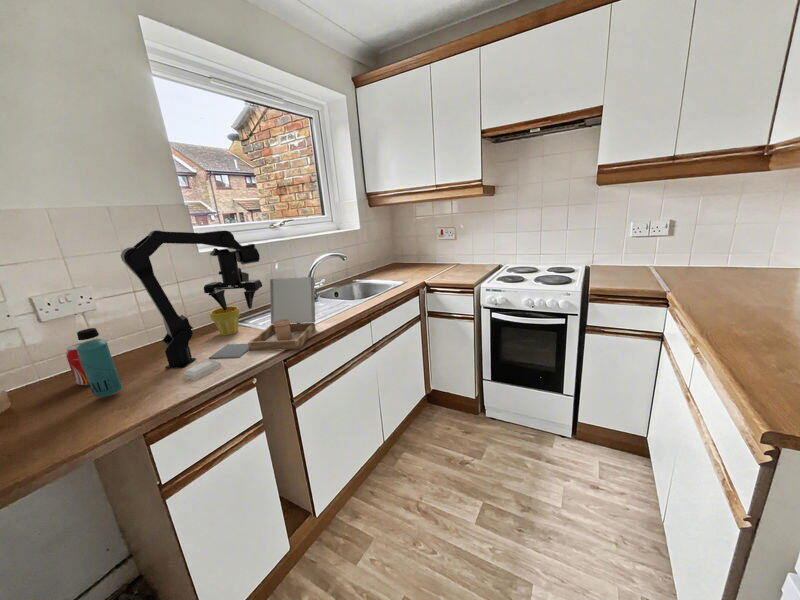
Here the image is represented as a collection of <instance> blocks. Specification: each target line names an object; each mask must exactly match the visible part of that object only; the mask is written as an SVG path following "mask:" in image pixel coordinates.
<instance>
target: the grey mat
mask: <svg viewBox="0 0 800 600" xmlns="http://www.w3.org/2000/svg"><path fill="white" fill-rule="evenodd" d="M248 351H249V346H248V343H232V344H230V343H227V344H226V345H225V346H223V347H222V348H220V349H219V350H217V351H216V352H214V353H213V354H212V355H211V356H209V357H208V360H212V359H237V358H238V359H239V358H242V356H244V355H245V354H246V353H247V352H248Z"/></svg>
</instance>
